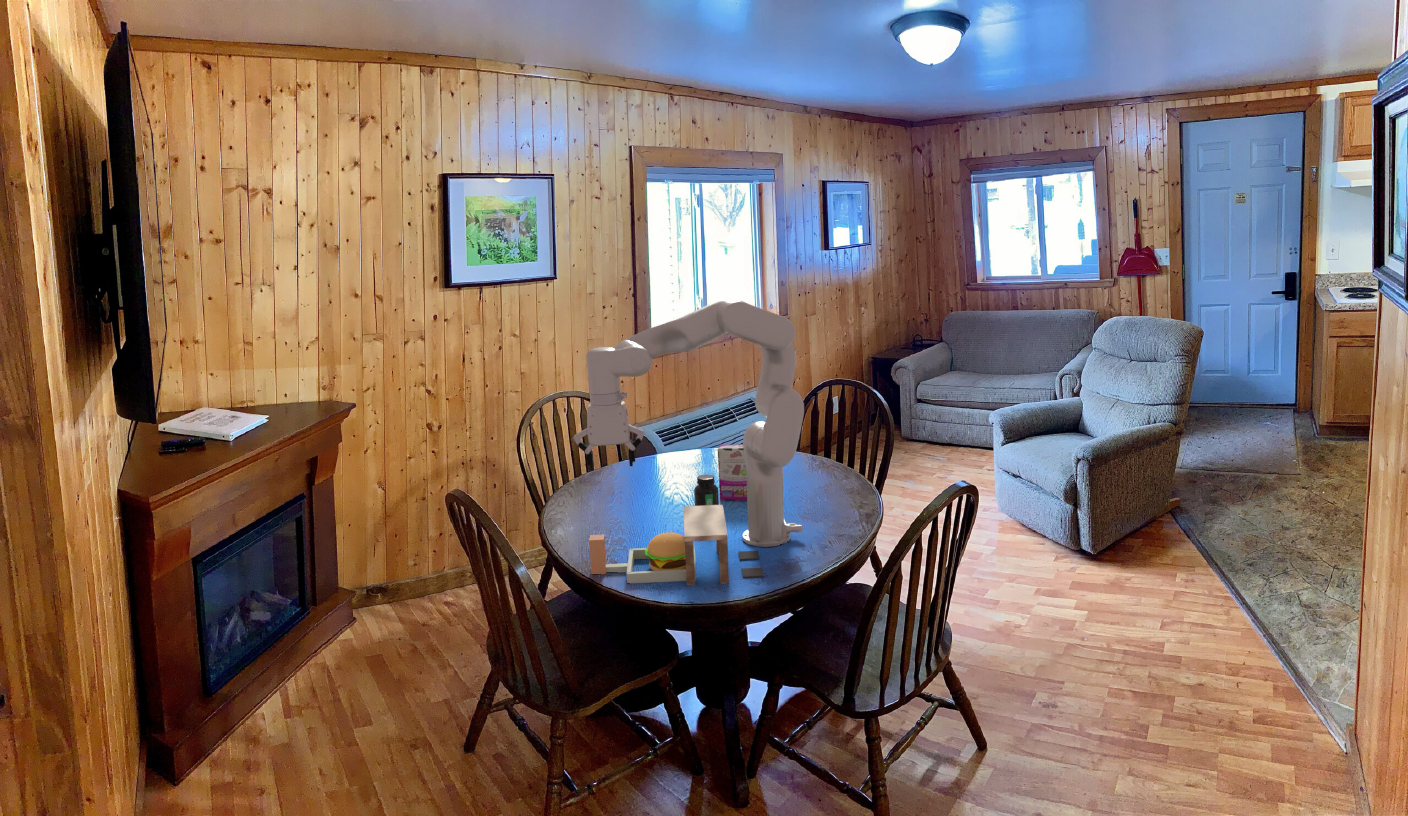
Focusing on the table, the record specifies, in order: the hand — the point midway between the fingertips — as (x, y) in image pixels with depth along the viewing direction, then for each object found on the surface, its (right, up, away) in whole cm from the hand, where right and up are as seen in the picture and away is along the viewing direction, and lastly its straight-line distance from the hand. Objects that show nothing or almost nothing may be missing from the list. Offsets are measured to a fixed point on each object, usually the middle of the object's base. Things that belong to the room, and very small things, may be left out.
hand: (611, 466), depth 231 cm
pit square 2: (+34, -26, -4) cm, 43 cm away
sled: (+8, -25, 0) cm, 27 cm away
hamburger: (+14, -25, +2) cm, 29 cm away
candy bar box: (+33, -13, +51) cm, 62 cm away
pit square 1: (+34, -23, +6) cm, 42 cm away
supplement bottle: (+24, -17, +36) cm, 46 cm away
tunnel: (+23, -25, +1) cm, 34 cm away
